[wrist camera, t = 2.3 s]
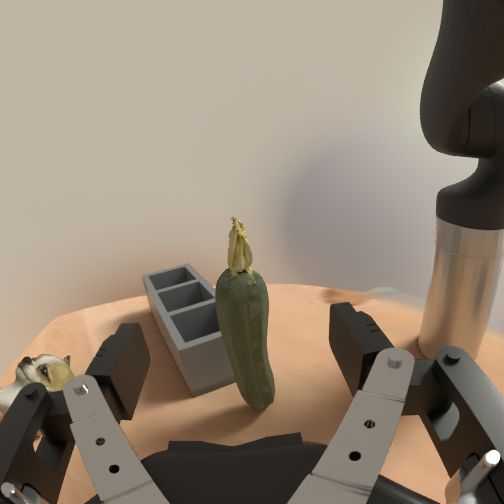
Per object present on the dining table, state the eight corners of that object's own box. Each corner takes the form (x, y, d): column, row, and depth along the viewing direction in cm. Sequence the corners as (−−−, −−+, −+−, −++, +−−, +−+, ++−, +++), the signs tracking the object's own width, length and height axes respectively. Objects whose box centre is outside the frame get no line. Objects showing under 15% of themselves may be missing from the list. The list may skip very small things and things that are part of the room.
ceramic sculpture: (-29, 367, 21) (54, 319, 34) (2, 421, 23) (73, 370, 36) (-2, 407, 17) (99, 338, 30) (40, 464, 19) (120, 395, 32)
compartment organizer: (151, 311, 51) (141, 275, 48) (195, 298, 54) (188, 263, 52) (193, 397, 31) (178, 350, 29) (258, 371, 35) (253, 324, 32)
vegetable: (269, 428, 26) (248, 228, 19) (229, 420, 28) (190, 229, 21) (281, 398, 30) (268, 213, 23) (244, 392, 31) (217, 214, 25)
